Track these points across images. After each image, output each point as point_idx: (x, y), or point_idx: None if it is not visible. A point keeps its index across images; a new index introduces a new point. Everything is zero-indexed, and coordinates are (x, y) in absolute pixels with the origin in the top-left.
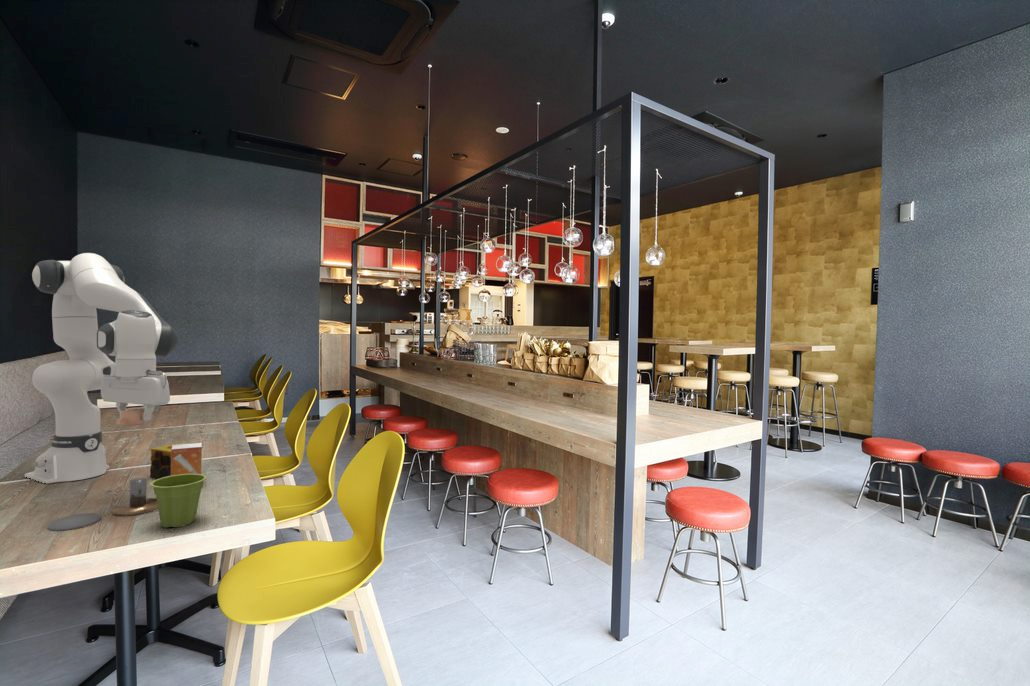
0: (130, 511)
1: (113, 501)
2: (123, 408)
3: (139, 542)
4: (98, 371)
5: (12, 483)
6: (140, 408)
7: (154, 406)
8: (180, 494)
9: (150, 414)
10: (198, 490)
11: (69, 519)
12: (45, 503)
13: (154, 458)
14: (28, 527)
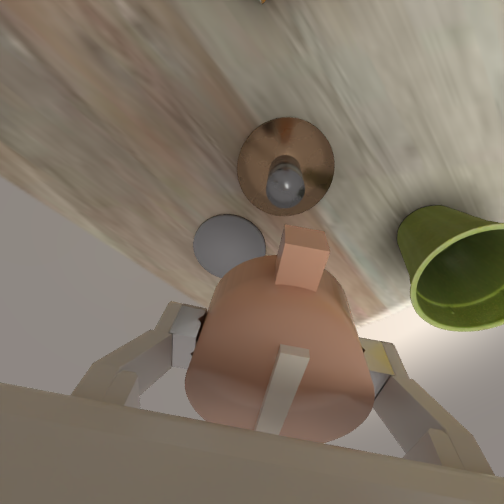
0: (299, 208)
1: (186, 129)
2: (143, 370)
3: (401, 302)
4: None
5: None
6: (296, 384)
7: (479, 453)
8: (488, 301)
9: (405, 377)
10: None
11: (214, 246)
12: (62, 164)
13: None
14: (176, 268)
